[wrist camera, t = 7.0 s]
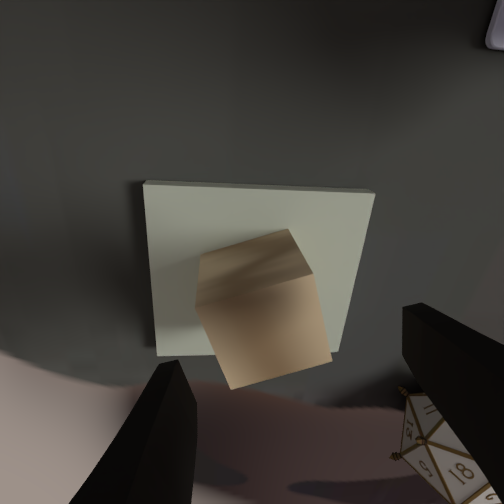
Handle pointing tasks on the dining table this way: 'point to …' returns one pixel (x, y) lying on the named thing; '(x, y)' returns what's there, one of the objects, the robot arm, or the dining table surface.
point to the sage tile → (243, 229)
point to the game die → (440, 454)
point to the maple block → (261, 309)
